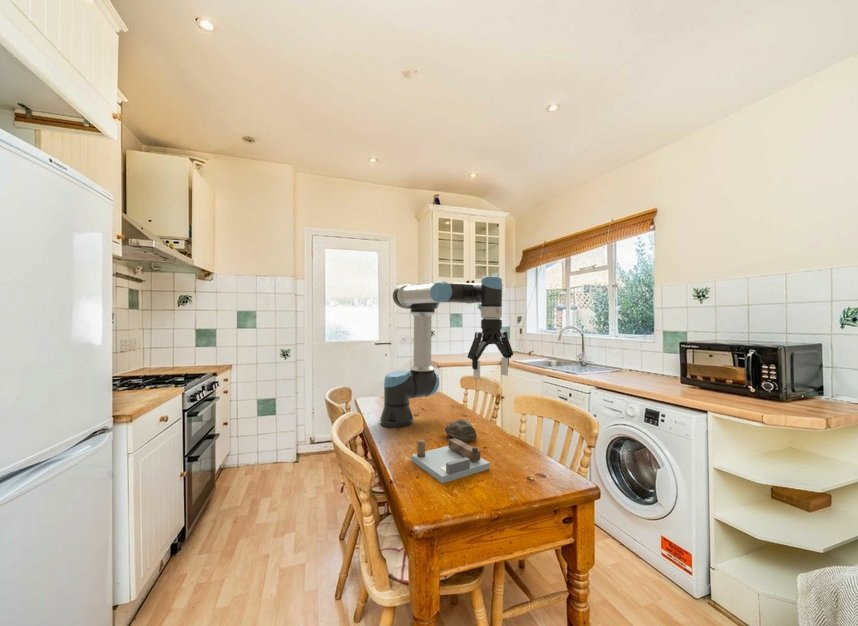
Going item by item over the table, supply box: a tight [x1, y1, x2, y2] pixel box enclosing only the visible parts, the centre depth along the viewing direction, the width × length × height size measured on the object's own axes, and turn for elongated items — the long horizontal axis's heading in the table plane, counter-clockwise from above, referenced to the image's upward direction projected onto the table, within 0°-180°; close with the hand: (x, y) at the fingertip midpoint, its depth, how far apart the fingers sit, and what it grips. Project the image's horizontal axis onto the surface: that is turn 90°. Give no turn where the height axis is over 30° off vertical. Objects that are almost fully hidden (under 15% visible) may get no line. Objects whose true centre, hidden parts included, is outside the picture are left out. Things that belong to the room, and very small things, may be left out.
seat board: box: [410, 439, 491, 484], centre depth 117 cm, size 19×19×7 cm
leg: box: [447, 437, 481, 462], centre depth 120 cm, size 14×3×4 cm, turn 32°
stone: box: [444, 418, 478, 443], centre depth 143 cm, size 14×10×10 cm
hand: (491, 376), depth 127 cm, fingers open, 13 cm apart
